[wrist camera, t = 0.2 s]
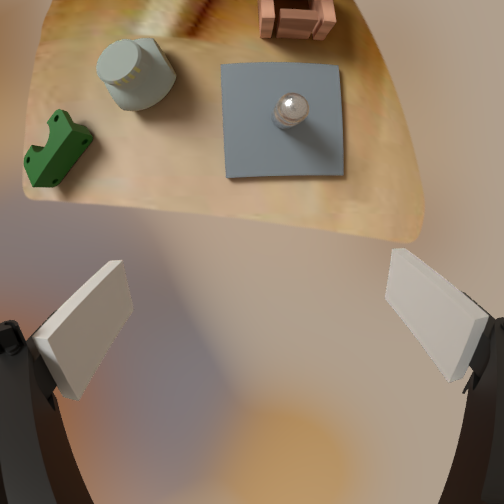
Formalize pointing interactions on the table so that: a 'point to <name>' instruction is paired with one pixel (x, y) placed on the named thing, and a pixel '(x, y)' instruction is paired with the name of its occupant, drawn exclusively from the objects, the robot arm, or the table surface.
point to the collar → (297, 20)
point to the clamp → (56, 151)
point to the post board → (275, 139)
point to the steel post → (289, 110)
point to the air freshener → (135, 73)
